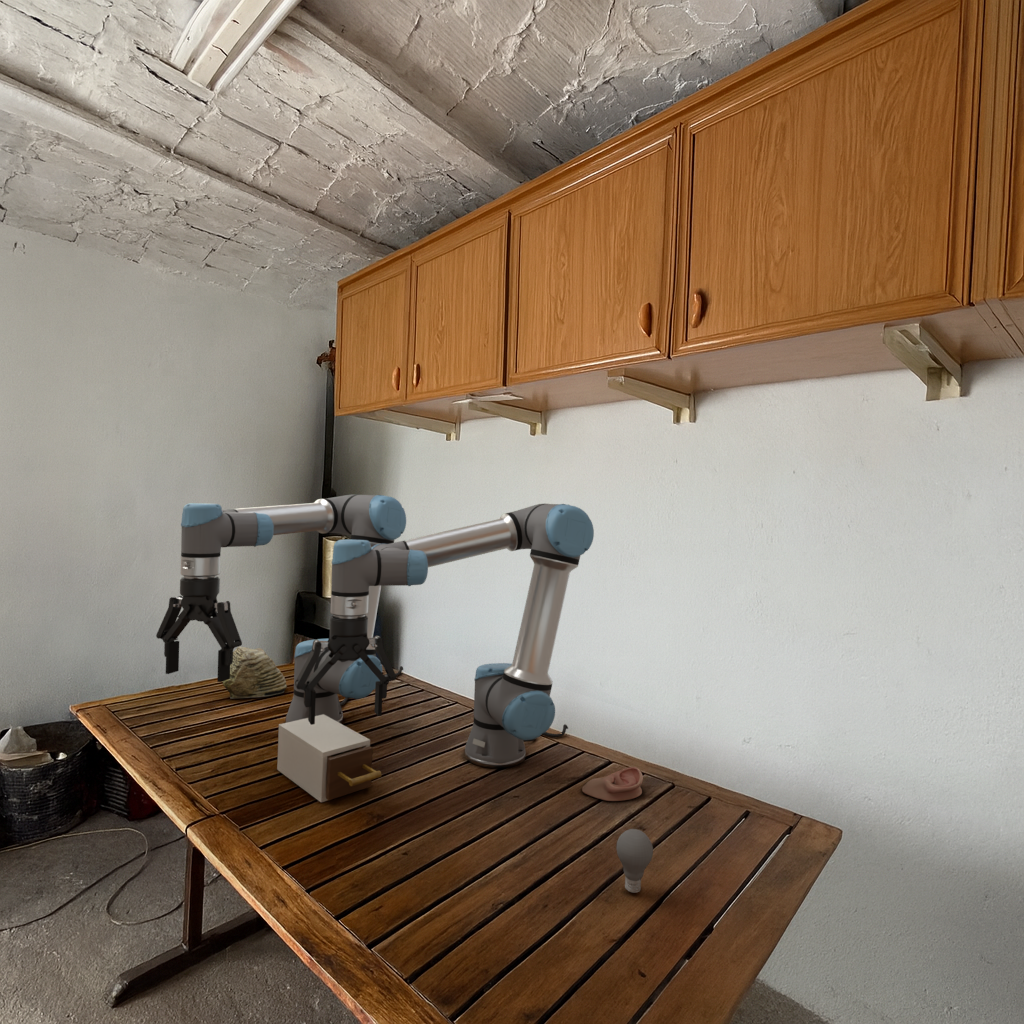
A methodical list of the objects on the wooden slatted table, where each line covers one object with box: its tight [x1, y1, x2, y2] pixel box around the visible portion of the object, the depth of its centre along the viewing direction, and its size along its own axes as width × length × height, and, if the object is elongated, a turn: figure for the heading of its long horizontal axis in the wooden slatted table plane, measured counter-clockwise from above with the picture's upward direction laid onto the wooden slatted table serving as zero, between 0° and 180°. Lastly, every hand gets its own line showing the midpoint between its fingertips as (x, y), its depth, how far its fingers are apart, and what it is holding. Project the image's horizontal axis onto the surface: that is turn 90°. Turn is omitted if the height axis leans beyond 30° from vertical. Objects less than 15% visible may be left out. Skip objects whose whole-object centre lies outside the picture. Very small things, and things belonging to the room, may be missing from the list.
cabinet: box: [276, 714, 371, 803], centre depth 142 cm, size 21×11×10 cm, turn 45°
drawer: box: [326, 745, 382, 801], centre depth 138 cm, size 25×10×8 cm, turn 45°
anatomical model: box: [581, 766, 644, 802], centre depth 142 cm, size 13×4×12 cm
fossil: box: [222, 646, 288, 699], centre depth 198 cm, size 9×18×15 cm, turn 132°
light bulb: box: [615, 828, 654, 894], centre depth 106 cm, size 6×6×10 cm
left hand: (197, 676), depth 134 cm, fingers open, 13 cm apart
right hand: (345, 718), depth 130 cm, fingers open, 13 cm apart
